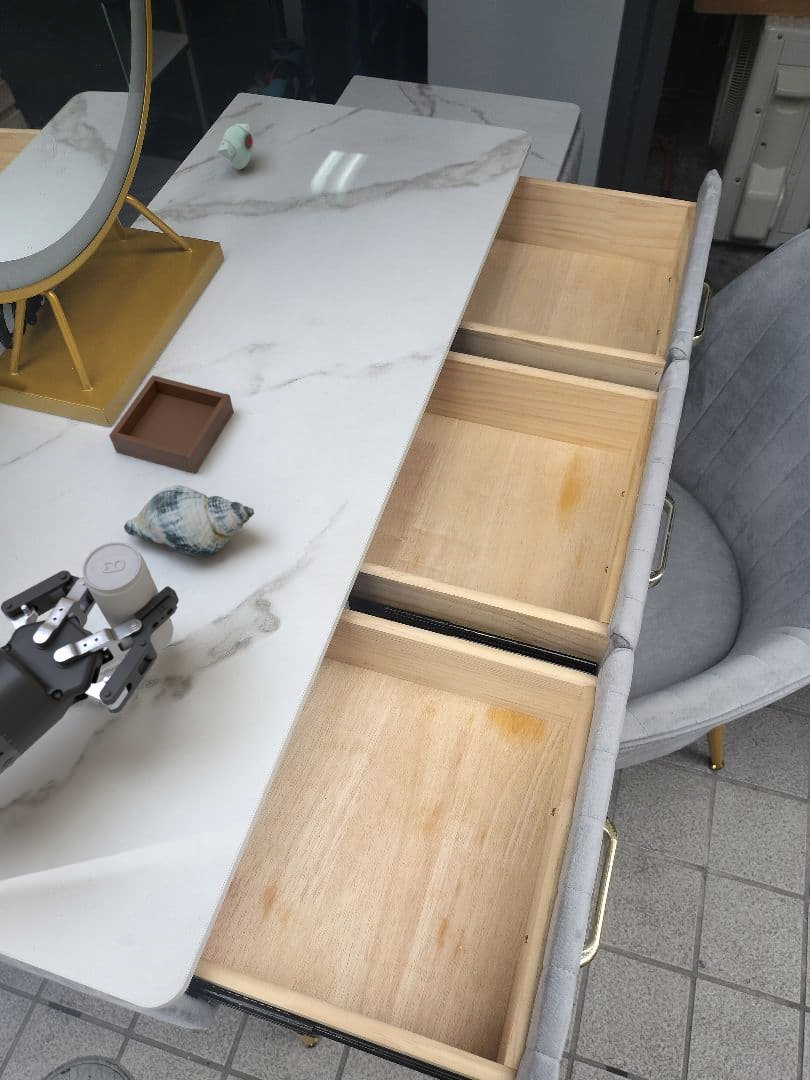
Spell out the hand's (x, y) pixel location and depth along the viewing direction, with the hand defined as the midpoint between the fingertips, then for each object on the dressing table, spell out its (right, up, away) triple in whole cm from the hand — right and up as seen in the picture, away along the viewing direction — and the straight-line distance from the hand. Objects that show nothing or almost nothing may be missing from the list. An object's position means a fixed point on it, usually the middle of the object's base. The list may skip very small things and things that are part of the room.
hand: (151, 576), depth 70 cm
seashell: (0, +3, +16) cm, 16 cm away
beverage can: (-2, -6, +5) cm, 8 cm away
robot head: (-3, +60, +54) cm, 81 cm away
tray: (-5, +16, +24) cm, 29 cm away
